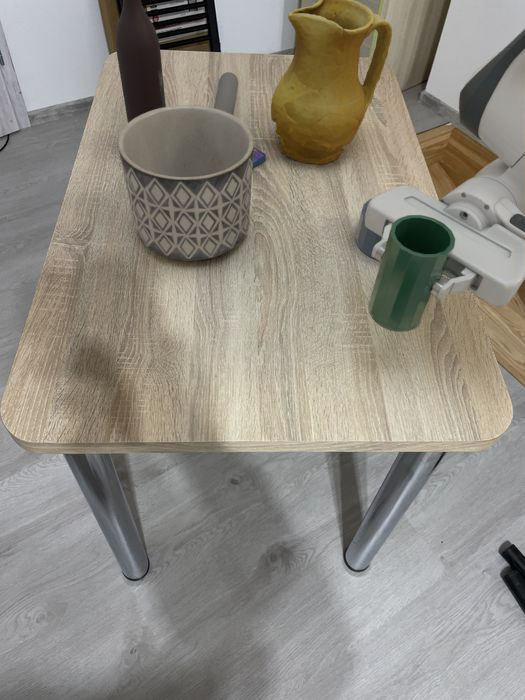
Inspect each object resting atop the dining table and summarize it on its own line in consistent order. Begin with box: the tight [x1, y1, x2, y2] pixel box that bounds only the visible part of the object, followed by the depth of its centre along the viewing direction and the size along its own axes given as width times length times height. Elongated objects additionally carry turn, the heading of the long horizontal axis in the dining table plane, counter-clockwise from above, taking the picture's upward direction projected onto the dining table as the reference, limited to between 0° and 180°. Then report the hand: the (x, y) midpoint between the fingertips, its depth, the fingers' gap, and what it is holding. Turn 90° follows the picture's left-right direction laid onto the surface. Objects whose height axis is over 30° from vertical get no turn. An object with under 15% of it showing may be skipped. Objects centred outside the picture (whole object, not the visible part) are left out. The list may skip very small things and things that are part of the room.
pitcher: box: [270, 0, 393, 165], centre depth 97 cm, size 17×19×25 cm
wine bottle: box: [114, 0, 167, 124], centre depth 91 cm, size 7×7×30 cm
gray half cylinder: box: [213, 71, 239, 116], centre depth 115 cm, size 4×20×2 cm, turn 178°
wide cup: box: [355, 197, 382, 261], centre depth 88 cm, size 10×10×6 cm
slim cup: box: [367, 215, 455, 333], centre depth 62 cm, size 7×7×12 cm
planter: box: [117, 104, 255, 262], centre depth 83 cm, size 19×19×16 cm
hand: (406, 273), depth 61 cm, fingers closed on slim cup, 7 cm apart
